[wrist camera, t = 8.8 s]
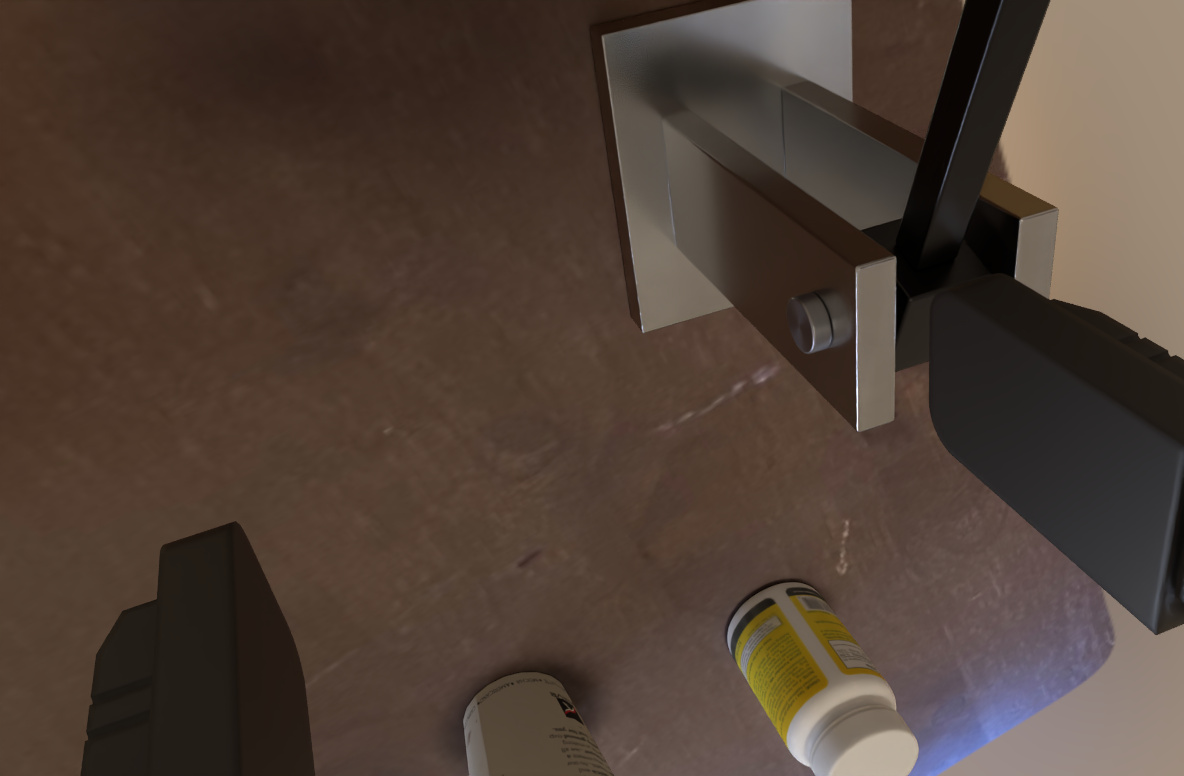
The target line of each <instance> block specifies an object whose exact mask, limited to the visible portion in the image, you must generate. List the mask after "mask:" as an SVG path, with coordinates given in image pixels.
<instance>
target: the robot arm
mask: <svg viewBox="0 0 1184 776" xmlns="http://www.w3.org/2000/svg"><path fill="white" fill-rule="evenodd" d="M929 408H930V414H931V418H932V422H933V425H934V428H935V430H936V432H937V435H938V436H939V438H940V440H941V442H942V443H943V445H944V446H945V448H946V449H947V450H948V451H949V452H950V454H951V455H952V456H954V457H955V458H956V459H957V460H958V461H959V462H960V463H961V464H963V465H964V466H965V467H966V468H967V469H968V470H969V471H971V472H972V473H973V474H974V475H975V476H976V477H977V478H978V479H980V480H981V481H982V482H983V483H984V484H985V485H986V486H988V487H989V488H990V489H991V490H992V491H993V492H994V493H995V494H997V495H998V496H999V497H1000V498H1001V499H1002V500H1003V501H1005V502H1006V503H1007V504H1008V505H1009V506H1010V507H1011V508H1012V509H1014V510H1015V511H1016V512H1017V513H1018V514H1019V515H1020V516H1021V517H1023V518H1024V519H1025V520H1026V521H1027V522H1028V523H1029V524H1031V525H1032V526H1033V527H1034V528H1035V529H1036V530H1037V531H1038V532H1040V533H1041V534H1042V535H1043V536H1044V537H1045V538H1046V539H1048V540H1049V541H1050V542H1051V543H1052V544H1053V545H1054V546H1055V547H1057V548H1058V549H1059V550H1060V551H1061V552H1062V553H1063V554H1065V555H1066V556H1067V557H1068V558H1069V559H1070V560H1071V561H1072V562H1074V563H1075V564H1076V565H1077V566H1078V567H1079V568H1080V569H1082V570H1083V571H1084V572H1085V573H1086V574H1087V575H1088V576H1089V577H1091V578H1092V579H1093V580H1094V581H1095V582H1096V583H1097V584H1099V585H1100V586H1101V587H1102V588H1103V589H1104V590H1105V591H1106V592H1108V593H1109V594H1110V595H1111V596H1112V597H1113V598H1115V599H1116V600H1117V601H1118V602H1119V603H1120V604H1121V605H1122V606H1123V607H1125V608H1126V609H1127V610H1128V611H1129V612H1130V613H1131V614H1132V615H1134V616H1135V617H1136V618H1137V619H1138V620H1139V621H1140V622H1142V623H1143V624H1144V625H1145V626H1146V627H1147V628H1148V629H1150V630H1151V631H1152V632H1153V633H1154V634H1155V635H1158V634H1160V633H1162V632H1165V631H1167V630H1170V629H1172V628H1175V627H1177V626H1180V625H1182V624H1184V360H1183V359H1182V358H1180V357H1178V356H1176V355H1175V356H1172V357H1170V355H1169V354H1168V350H1166V349H1164V348H1163V347H1161V346H1159V345H1157V344H1156V343H1154V342H1152V341H1150V340H1149V339H1147V338H1143V339H1140V338H1139V336H1138V333H1137V332H1135V331H1133V330H1131V329H1130V328H1128V327H1126V326H1124V325H1123V324H1121V323H1119V322H1117V321H1116V320H1114V319H1112V318H1110V317H1109V316H1107V315H1105V314H1103V313H1101V312H1099V311H1095V310H1091V309H1087V308H1084V307H1081V306H1077V305H1074V304H1070V303H1066V302H1063V301H1059V300H1056V299H1053V300H1049V299H1048V298H1046V297H1044V296H1043V295H1041V294H1039V293H1038V292H1036V291H1034V290H1032V289H1031V288H1029V287H1027V286H1026V285H1024V284H1022V283H1021V282H1019V281H1017V280H1016V279H1014V278H1012V277H1011V276H1009V275H1006V274H1003V273H996V274H993V275H990V276H987V277H984V278H981V279H978V280H975V281H972V282H969V283H965V284H962V285H959V286H956V287H953V288H950V289H947V290H944V291H941V292H939V293H938V294H936V295H935V297H934V298H933V300H932V303H931V307H930V320H929ZM91 698H92V701H93V704H92V705H90V707H89V715H88V722H87V730H86V733H87V735H88V740H87V741H85V746H84V753H83V761H82V769H81V776H315V770H314V761H313V752H312V743H311V733H310V724H309V715H308V706H307V697H306V688H305V681H304V675H303V671H302V666H301V662H300V658H299V655H298V651H297V648H296V645H295V642H294V639H293V636H292V634H291V631H290V629H289V627H288V624H287V622H286V620H285V618H284V616H283V613H282V611H281V609H280V607H279V605H278V603H277V600H276V598H275V596H274V594H273V592H272V590H271V588H270V585H269V583H268V581H267V579H266V577H265V575H264V572H263V570H262V568H261V566H260V564H259V562H258V559H257V557H256V555H255V553H254V551H253V549H252V546H251V544H250V542H249V540H248V538H247V536H246V534H245V532H244V530H243V529H242V527H241V526H240V525H239V524H238V523H237V522H236V521H235V522H232V523H229V524H226V525H223V526H220V527H217V528H213V529H210V530H207V531H204V532H201V533H198V534H195V535H192V536H189V537H186V538H183V539H180V540H177V541H174V542H171V543H168V544H165V545H163V546H162V548H161V550H160V560H159V576H158V592H157V599H156V600H153V601H150V602H147V603H144V604H142V605H139V606H136V607H133V608H130V609H127V610H124V611H122V613H121V614H120V616H119V618H118V619H117V621H116V623H115V624H114V626H113V628H112V629H111V631H110V633H109V634H108V636H107V638H106V639H105V641H104V643H103V644H102V646H101V648H100V649H99V651H98V653H97V654H96V661H95V669H94V676H93V684H92V692H91Z"/></svg>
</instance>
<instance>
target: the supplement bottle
mask: <svg viewBox="0 0 1184 776" xmlns="http://www.w3.org/2000/svg"><path fill="white" fill-rule="evenodd" d="M727 641H728V647H729V650H730V652H731V654H732V656H733V659H734V660H735V662H736V664H737V665H738V666H739V668H740V670H741V672H742V673H743V675H744V676H745V678H746V680H747V681H748V683H749V685H750V687H751V688H752V690H753V692H754V693H755V695H756V697H757V698H758V700H759V701H760V703H761V705H762V706H763V708H764V710H765V711H766V713H767V715H768V716H769V718H770V719H771V721H772V723H773V724H774V726H775V728H776V729H777V731H778V733H779V734H780V736H781V738H782V739H783V741H784V743H785V744H786V746H787V748H788V749H789V751H790V752H791V754H792V755H793V756H794V757H795V758H796V759H797V760H798V761H799V762H801V763H802V764H804V765H806V766H809V767H811V769H812V771H813V772H814V775H815V776H907V775H908V774H909V773H910V771H911V770H912V768H913V767H914V765H915V763H916V760H917V757H918V751H919V749H918V743H917V740H916V738H915V737H914V735H913V734H912V732H911V731H910V729H909V728H908V726H907V725H906V723H905V722H904V720H903V718H902V717H901V716H900V715H899V714H898V712H897V711H896V701H895V697H894V694H893V692H892V690H891V688H890V686H889V685H888V683H887V682H886V681H885V679H884V678H883V677H882V675H881V674H880V673H879V671H878V670H877V669H876V667H875V666H874V665H873V663H872V662H871V661H870V660H869V658H868V657H867V656H866V654H865V653H864V652H863V650H862V649H861V648H860V646H859V645H858V644H857V642H856V641H855V640H854V638H853V637H852V636H851V634H850V633H849V632H848V630H847V629H846V628H845V626H844V625H843V624H842V623H841V621H840V620H839V619H838V617H837V616H836V615H835V613H834V612H833V611H832V609H831V608H830V607H829V606H828V604H827V603H826V601H825V600H824V599H823V597H822V596H821V595H820V594H819V593H818V592H817V591H816V590H815V589H814V588H812V587H810V586H808V585H806V584H803V583H797V582H788V583H781V584H777V585H774V586H771V587H769V588H767V589H765V590H763V591H761V592H759V593H757V594H756V595H754V596H752V597H751V598H750V599H749V600H747V601H746V602H745V603H744V604H743V605H742V606H741V607H740V608H739V609H738V611H737V612H736V614H735V615H734V617H733V619H732V621H731V623H730V626H729V629H728V635H727Z"/></svg>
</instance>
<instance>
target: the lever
mask: <svg viewBox="0 0 1184 776" xmlns="http://www.w3.org/2000/svg"><path fill="white" fill-rule="evenodd" d="M1049 3H1050V0H965V4H964V7H963V11H962V14H961V18H960V21H959V25H958V28H957V31H956V35H955V38H954V42H953V45H952V49H951V52H950V55H949V59H948V62H947V66H946V69H945V73H944V76H943V80H942V83H941V86H940V90H939V93H938V97H937V100H936V104H935V107H934V110H933V114H932V117H931V121H930V124H929V128H928V131H927V135H926V138H925V141H924V145H923V148H922V152H921V155H920V159H919V162H918V165H917V169H916V172H915V176H914V179H913V183H912V186H911V190H910V193H909V196H908V200H907V203H906V207H905V210H904V214H903V217H902V218H900V219H897V220H893V221H890V222H887V223H883V224H880V225H876V226H873V227H869V228H866V229H862V230H860V231H862V232H863V233H865V234H866V235H867V236H869V237H870V238H872V239H873V240H875V241H876V242H877V243H879V244H880V245H882V246H883V247H884V248H886V249H887V250H889V251H890V252H892V253H893V254H894V255H895V256H896V258H897V276H896V340H895V372H897V371H900V370H903V369H906V368H909V367H913V366H916V365H919V364H922V363H925V362H928V361H929V320H930V307H931V303H932V300H933V298H934V297H935V295H936V294H938V293H939V292H941V291H944V290H947V289H950V288H953V287H956V286H959V285H962V284H965V283H969V282H972V281H975V280H978V279H981V278H984V277H987V276H990V275H993V274H992V272H991V271H990V270H989V268H988V267H987V266H986V265H985V264H984V262H983V261H982V260H981V259H980V257H979V256H978V255H977V254H976V252H975V251H974V250H973V249H972V247H971V246H970V245H969V244H968V242H967V241H966V240H965V239H964V236H965V233H966V231H967V228H968V225H969V222H970V220H971V217H972V214H973V211H974V209H975V206H976V203H977V201H978V198H979V195H980V192H981V190H982V187H983V184H984V181H985V179H986V176H987V173H988V170H989V168H990V165H991V162H992V159H993V157H994V154H995V151H996V148H997V146H998V143H999V140H1000V137H1001V135H1002V132H1003V129H1004V126H1005V124H1006V121H1007V118H1008V115H1009V113H1010V110H1011V107H1012V104H1013V101H1014V99H1015V96H1016V93H1017V91H1018V88H1019V85H1020V82H1021V80H1022V77H1023V74H1024V71H1025V68H1026V66H1027V63H1028V60H1029V58H1030V55H1031V52H1032V49H1033V47H1034V44H1035V41H1036V39H1037V36H1038V33H1039V30H1040V27H1041V25H1042V22H1043V19H1044V17H1045V14H1046V11H1047V8H1048V6H1049Z"/></svg>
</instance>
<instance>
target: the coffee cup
mask: <svg viewBox="0 0 1184 776" xmlns="http://www.w3.org/2000/svg"><path fill="white" fill-rule="evenodd" d="M463 724H464V733H465V742H466V751H467V760H468V769H469V776H614V774H613V773H612V771H611V769H610V767H609V766H608V764H607V762H606V760H605V759H604V757H603V755H602V753H601V752H600V750H599V748H598V746H597V745H596V743H595V741H594V739H593V738H592V736H591V734H590V732H589V731H588V729H587V727H586V725H585V724H584V722H583V720H582V718H581V717H580V715H579V713H578V711H577V710H576V708H575V706H574V704H573V703H572V701H571V699H570V697H569V696H568V694H567V692H566V690H565V689H564V687H563V685H562V683H560V682H559V681H558V680H556V679H555V678H553V677H552V676H550V675H546V674H542V673H538V672H521V673H517V674H513V675H509V676H505V677H503V678H501V679H499V680H497V681H495V682H493V683H491V684H489V685H487V686H486V687H485V688H484V689H483V690H481V691H480V692H479V693H478V694H477V695H476V696H475V697H474V698H473V700H472V701H471V703H470V704H469V705H468V707H467V709H466V712H465V716H464V719H463Z"/></svg>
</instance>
